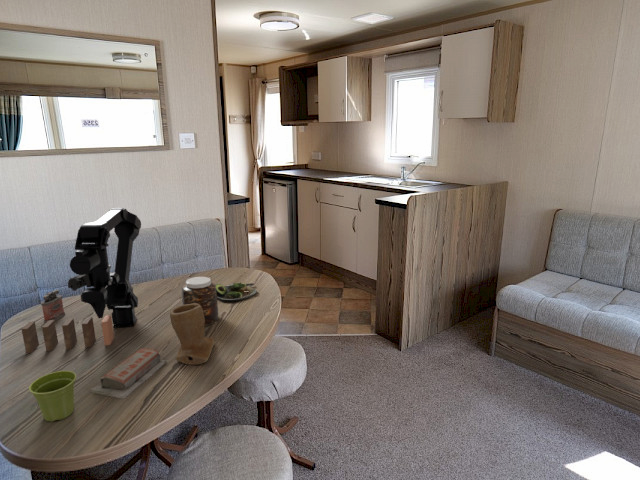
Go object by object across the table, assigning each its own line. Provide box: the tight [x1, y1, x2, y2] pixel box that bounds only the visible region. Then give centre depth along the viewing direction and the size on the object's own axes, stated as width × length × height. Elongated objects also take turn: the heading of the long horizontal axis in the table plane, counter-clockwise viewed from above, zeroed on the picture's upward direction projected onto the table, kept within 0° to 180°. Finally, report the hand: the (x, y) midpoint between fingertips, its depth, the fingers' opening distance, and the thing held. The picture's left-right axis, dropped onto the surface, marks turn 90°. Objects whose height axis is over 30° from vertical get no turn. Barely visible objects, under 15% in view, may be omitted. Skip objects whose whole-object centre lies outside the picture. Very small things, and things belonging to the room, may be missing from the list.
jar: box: [181, 276, 219, 327], centre depth 147 cm, size 12×12×15 cm
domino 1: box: [21, 321, 40, 354], centre depth 129 cm, size 2×5×8 cm, turn 12°
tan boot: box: [169, 303, 215, 366], centre depth 124 cm, size 15×12×15 cm
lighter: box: [40, 289, 66, 324], centre depth 150 cm, size 8×3×10 cm, turn 168°
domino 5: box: [101, 314, 115, 346], centre depth 133 cm, size 2×5×8 cm, turn 13°
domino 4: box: [81, 316, 97, 348], centre depth 132 cm, size 2×5×8 cm, turn 12°
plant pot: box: [28, 370, 77, 422], centre depth 98 cm, size 9×9×9 cm
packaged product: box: [90, 347, 168, 400], centre depth 114 cm, size 18×5×10 cm
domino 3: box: [61, 317, 78, 350], centre depth 131 cm, size 2×5×8 cm, turn 12°
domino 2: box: [41, 320, 59, 352], centre depth 130 cm, size 2×5×8 cm, turn 12°
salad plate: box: [215, 282, 258, 303], centre depth 174 cm, size 19×18×5 cm
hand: (104, 311), depth 131 cm, fingers open, 9 cm apart
